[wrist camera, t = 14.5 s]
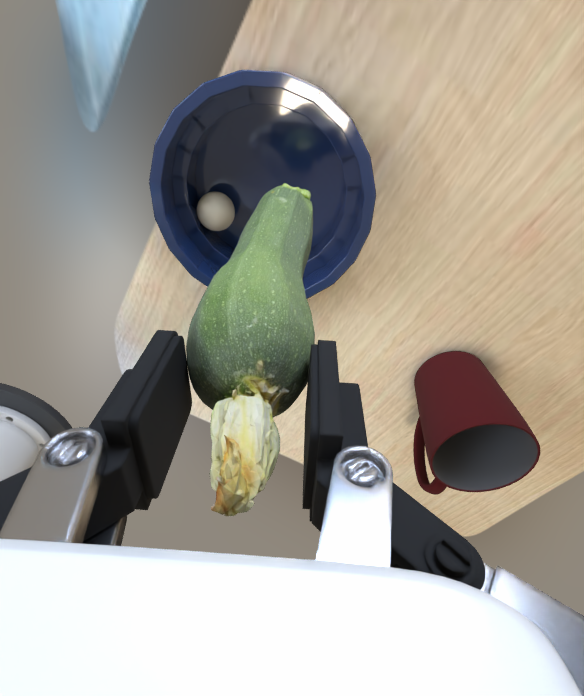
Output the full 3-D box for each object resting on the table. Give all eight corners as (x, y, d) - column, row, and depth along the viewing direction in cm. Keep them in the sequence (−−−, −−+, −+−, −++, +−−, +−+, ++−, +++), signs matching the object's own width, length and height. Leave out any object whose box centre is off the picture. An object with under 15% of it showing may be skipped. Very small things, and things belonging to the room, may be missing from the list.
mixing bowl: (187, 269, 37) (166, 298, 32) (163, 65, 28) (130, 63, 23) (352, 279, 37) (357, 311, 32) (381, 77, 28) (394, 77, 23)
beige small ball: (235, 235, 31) (246, 202, 32) (203, 214, 29) (216, 179, 30) (215, 240, 34) (226, 208, 34) (184, 221, 32) (197, 188, 32)
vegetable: (294, 247, 26) (264, 590, 10) (232, 218, 25) (97, 553, 9) (328, 185, 23) (354, 522, 8) (260, 148, 22) (137, 459, 7)
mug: (437, 434, 48) (464, 519, 39) (375, 407, 46) (388, 490, 37) (511, 366, 41) (565, 448, 32) (442, 331, 39) (479, 407, 30)
